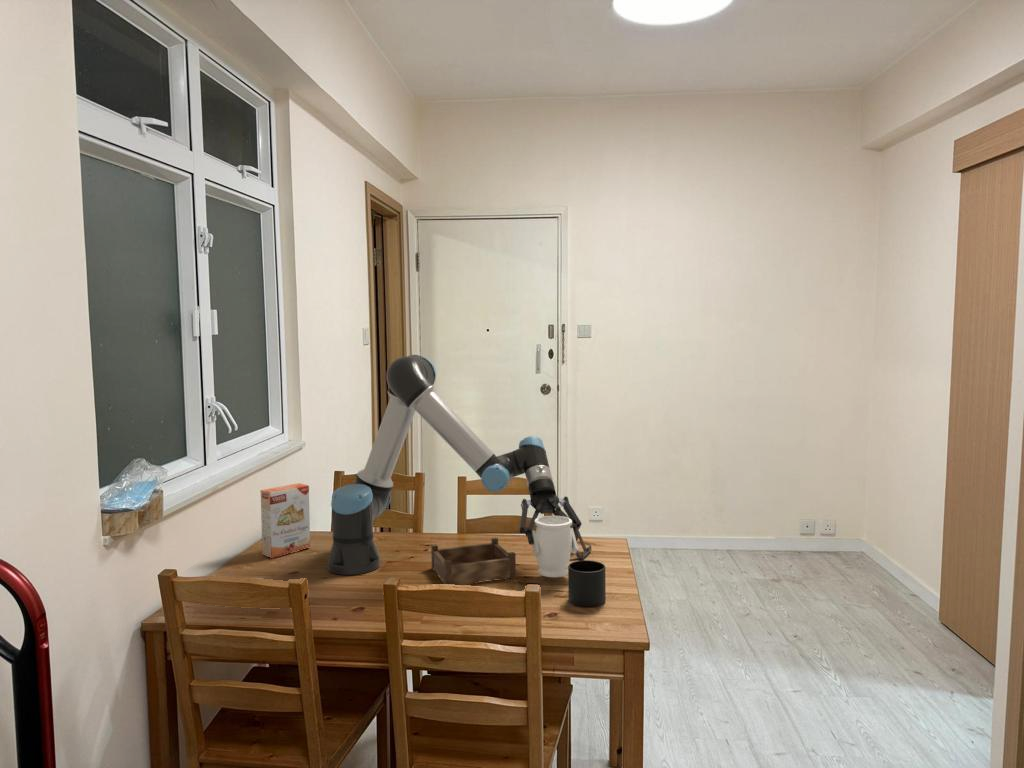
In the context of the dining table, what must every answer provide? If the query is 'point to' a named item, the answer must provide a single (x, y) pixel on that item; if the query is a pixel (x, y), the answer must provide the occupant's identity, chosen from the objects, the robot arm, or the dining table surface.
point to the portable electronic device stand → (586, 550)
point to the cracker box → (285, 519)
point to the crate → (473, 563)
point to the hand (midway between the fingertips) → (556, 552)
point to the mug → (586, 583)
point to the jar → (553, 545)
